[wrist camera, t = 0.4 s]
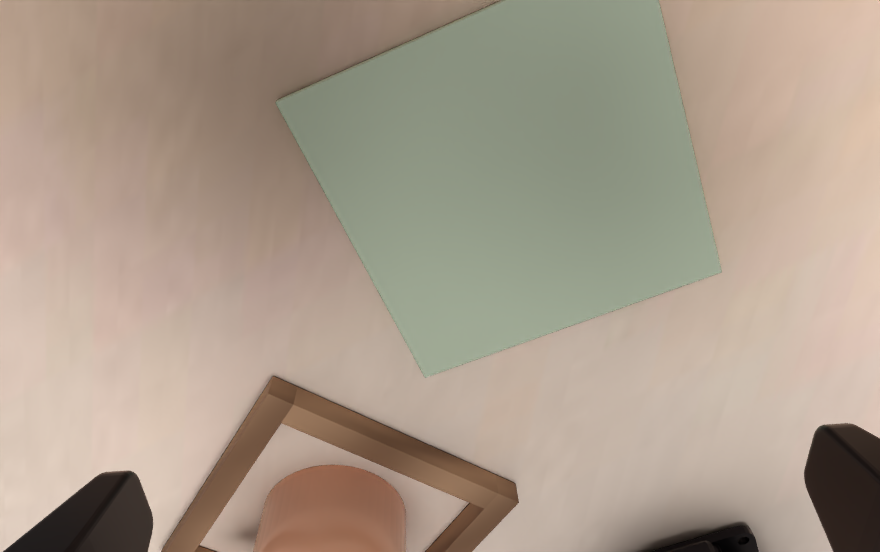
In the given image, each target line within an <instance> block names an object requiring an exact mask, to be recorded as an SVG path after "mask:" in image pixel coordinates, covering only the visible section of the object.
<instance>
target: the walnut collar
mask: <svg viewBox="0 0 880 552" xmlns="http://www.w3.org/2000/svg"><path fill="white" fill-rule="evenodd" d="M281 423H282V424H285V425H287V426H290V427H292V428H294V429H297V430H299V431H301V432H304V433H306V434H308V435H311V436H313V437H316V438H318V439H320V440H323V441H325V442H327V443H330V444H332V445H335V446H337V447H339V448H342V449H344V450H346V451H349V452H351V453H353V454H356V455H358V456H361V457H363V458H365V459H368V460H370V461H372V462H375V463H377V464H379V465H382V466H384V467H387V468H389V469H391V470H394V471H396V472H398V473H401V474H403V475H405V476H408V477H410V478H413V479H415V480H417V481H420V482H422V483H424V484H427V485H429V486H431V487H434V488H436V489H439V490H441V491H443V492H446V493H448V494H450V495H453V496H455V497H457V498H460V499H462V500H465V501H467V502H469V503H470V504H469V505H468V506H467V507H466V508H465V509H464V510H463V511H462V512H461V513H460V515H459V516H458V517H457V518H456V519H455V520H454V521H453V522H452V523H451V524H450V526H449V527H448V528H447V529H446V530H445V531H444V532H443V533H442V534H441V535H440V537H439V538H438V539H437V540H436V541H435V542H434V543H433V544H432V545H431V546H430V548H429V549H428V550H427V551H426V552H472V551H473V550H474V549H475V548H476V547H477V546H478V545H479V544H480V542H481V541H482V540H483V539H484V538H485V537H486V536H487V535H488V534H489V533H490V532H491V531H492V530H493V529H494V528H495V527H496V526H497V525H498V524H499V523H500V522H501V521H502V520H503V518H504V517H505V516H506V515H507V514H508V513H509V512H510V511H511V510H512V509H513V508H514V507H515V506H516V505H517V504H518V503H519V501H518V495H517V490H516V484H515V483H513V482H511V481H509V480H506V479H504V478H502V477H500V476H497V475H495V474H493V473H491V472H488V471H486V470H484V469H481V468H479V467H477V466H475V465H472V464H470V463H468V462H466V461H463V460H461V459H459V458H457V457H454V456H452V455H450V454H448V453H445V452H443V451H441V450H439V449H436V448H434V447H432V446H430V445H427V444H425V443H423V442H421V441H418V440H416V439H414V438H412V437H409V436H407V435H405V434H403V433H400V432H398V431H396V430H394V429H391V428H389V427H387V426H385V425H382V424H380V423H378V422H376V421H373V420H371V419H369V418H367V417H364V416H362V415H360V414H358V413H355V412H353V411H351V410H348V409H346V408H344V407H342V406H339V405H337V404H335V403H333V402H330V401H328V400H326V399H324V398H321V397H319V396H317V395H315V394H312V393H310V392H308V391H306V390H303V389H301V388H299V387H297V386H294V385H292V384H290V383H288V382H285V381H283V380H281V379H279V378H276V377H274V376H273V377H272V378H271V380H270V381H269V383H268V384H267V386H266V388H265V389H264V391H263V392H262V394H261V395H260V397H259V399H258V400H257V402H256V403H255V405H254V406H253V408H252V410H251V411H250V413H249V414H248V416H247V417H246V419H245V420H244V422H243V424H242V425H241V427H240V428H239V430H238V431H237V433H236V435H235V436H234V438H233V439H232V441H231V442H230V444H229V446H228V447H227V449H226V450H225V452H224V453H223V455H222V457H221V458H220V460H219V461H218V463H217V464H216V466H215V468H214V469H213V471H212V472H211V474H210V475H209V477H208V478H207V480H206V482H205V483H204V485H203V486H202V488H201V489H200V491H199V493H198V494H197V496H196V497H195V499H194V500H193V502H192V504H191V505H190V507H189V508H188V510H187V511H186V513H185V515H184V516H183V518H182V519H181V521H180V522H179V524H178V526H177V527H176V529H175V530H174V532H173V533H172V535H171V536H170V538H169V540H168V541H167V543H166V544H165V546H164V547H163V549H162V551H161V552H214V551H212V550H209V549H206V548H203V547H200V546H199V544H200V543H201V541H202V540H203V538H204V537H205V535H206V534H207V532H208V531H209V529H210V528H211V527H212V525H213V524H214V522H215V521H216V519H217V518H218V516H219V515H220V513H221V512H222V510H223V509H224V507H225V506H226V504H227V503H228V501H229V500H230V498H231V497H232V495H233V494H234V492H235V491H236V489H237V488H238V486H239V485H240V483H241V482H242V480H243V479H244V477H245V476H246V474H247V473H248V472H249V470H250V469H251V467H252V466H253V464H254V463H255V461H256V460H257V458H258V457H259V455H260V454H261V452H262V451H263V449H264V448H265V446H266V445H267V443H268V442H269V440H270V439H271V437H272V436H273V434H274V433H275V431H276V430H277V428H278V427H279V425H280V424H281Z"/></svg>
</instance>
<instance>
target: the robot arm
mask: <svg viewBox="0 0 880 552" xmlns="http://www.w3.org/2000/svg"><path fill="white" fill-rule="evenodd" d="M804 479H805V485H806V488H807V491H808V493H809V496H810V498H811V500H812V503H813V505H814V507H815V510H816V512H817V514H818V517H819V519H820V521H821V524H822V526H823V528H824V531H825V533H826V535H827V538H828V540H829V543H830V545H831V547H832V550H833V552H880V438H878V437H876V436H874V435H873V434H871V433H869V432H867V431H865V430H864V429H862V428H860V427H858V426H856V425H854V424H848V423H844V424H828V425H822V426H820V427H818V428H817V430H816V431H815V433H814V437H813V440H812V444H811V448H810V451H809V455H808V459H807V462H806V466H805V471H804ZM152 530H153V517H152V512H151V509H150V507H149V504H148V501H147V499H146V496H145V493H144V491H143V488H142V486H141V483H140V480H139V478H138V476H137V475H136V474H135V473H134V472H132V471H115V472H105V473H101V474H99V475H98V476H96V477H95V478H94V479H92V480H91V481H90V482H89V483H87V484H86V485H85V486H84V487H83V488H81V489H80V490H79V491H78V492H76V493H75V494H74V495H73V496H71V497H70V498H69V499H68V500H66V501H65V502H64V503H63V504H61V505H60V506H59V507H58V508H57V509H55V510H54V511H53V512H52V513H50V514H49V515H48V516H47V517H45V518H44V519H43V520H42V521H40V522H39V523H38V524H37V525H35V526H34V527H33V528H32V529H30V530H29V531H28V532H27V533H26V534H24V535H23V536H22V537H21V538H19V539H18V540H17V541H16V542H14V543H13V544H12V545H11V546H9V547H8V548H7V549H6V550H4V551H3V552H148V548H149V543H150V539H151V535H152ZM651 552H759V551H758V547H757V543H756V540H755V537H754V535H753V533H752V531H751V529H750V528H749V527H747V526H743V525H742V526H737V527H733V528H730V529H726V530H723V531H720V532H716V533H713V534H709V535H706V536H703V537H699V538H696V539H692V540H689V541H685V542H682V543H679V544H675V545H672V546H668V547H665V548H662V549H658V550H655V551H651Z"/></svg>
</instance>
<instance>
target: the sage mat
mask: <svg viewBox="0 0 880 552" xmlns="http://www.w3.org/2000/svg"><path fill="white" fill-rule="evenodd" d="M276 105H277V107H278V108H279V110H280V112H281V114H282V116H283V118H284V119H285V121H286V123H287V125H288V127H289V129H290V130H291V132H292V134H293V136H294V138H295V140H296V142H297V143H298V145H299V147H300V149H301V151H302V153H303V154H304V156H305V158H306V160H307V162H308V164H309V165H310V167H311V169H312V171H313V173H314V175H315V176H316V178H317V180H318V182H319V184H320V186H321V187H322V189H323V191H324V193H325V195H326V197H327V199H328V200H329V202H330V204H331V206H332V208H333V210H334V211H335V213H336V215H337V217H338V219H339V221H340V222H341V224H342V226H343V228H344V230H345V232H346V233H347V235H348V237H349V239H350V241H351V243H352V244H353V246H354V248H355V250H356V252H357V254H358V256H359V257H360V259H361V261H362V263H363V265H364V267H365V268H366V270H367V272H368V274H369V276H370V278H371V279H372V281H373V283H374V285H375V287H376V289H377V290H378V292H379V294H380V296H381V298H382V300H383V302H384V303H385V305H386V307H387V309H388V311H389V313H390V314H391V316H392V318H393V320H394V322H395V324H396V325H397V327H398V329H399V331H400V333H401V335H402V336H403V338H404V340H405V342H406V344H407V346H408V347H409V349H410V351H411V353H412V355H413V357H414V359H415V360H416V362H417V364H418V366H419V368H420V370H421V371H422V373H423V375H424V377H425V378H426V377H429V376H432V375H434V374H437V373H440V372H443V371H446V370H448V369H451V368H454V367H457V366H460V365H463V364H465V363H468V362H471V361H474V360H477V359H479V358H482V357H485V356H488V355H491V354H493V353H496V352H499V351H502V350H505V349H508V348H510V347H513V346H516V345H519V344H522V343H524V342H527V341H530V340H533V339H536V338H538V337H541V336H544V335H547V334H550V333H553V332H555V331H558V330H561V329H564V328H567V327H569V326H572V325H575V324H578V323H581V322H583V321H586V320H589V319H592V318H595V317H598V316H600V315H603V314H606V313H609V312H612V311H614V310H617V309H620V308H623V307H626V306H628V305H631V304H634V303H637V302H640V301H643V300H645V299H648V298H651V297H654V296H657V295H659V294H662V293H665V292H668V291H671V290H673V289H676V288H679V287H682V286H685V285H688V284H690V283H693V282H696V281H699V280H702V279H704V278H707V277H710V276H713V275H716V274H718V273H721V272H722V270H721V266H720V262H719V257H718V253H717V249H716V244H715V240H714V236H713V232H712V227H711V223H710V219H709V214H708V210H707V206H706V201H705V197H704V193H703V189H702V184H701V180H700V176H699V171H698V167H697V163H696V158H695V154H694V150H693V146H692V141H691V137H690V133H689V128H688V124H687V120H686V116H685V111H684V107H683V103H682V98H681V94H680V90H679V85H678V81H677V77H676V73H675V68H674V64H673V60H672V55H671V51H670V47H669V42H668V38H667V34H666V30H665V25H664V21H663V17H662V12H661V8H660V4H659V0H501V1H499V2H497V3H494V4H492V5H490V6H488V7H485V8H483V9H481V10H479V11H476V12H474V13H472V14H470V15H467V16H465V17H463V18H461V19H458V20H456V21H454V22H452V23H449V24H447V25H445V26H443V27H440V28H438V29H436V30H434V31H431V32H429V33H427V34H425V35H422V36H420V37H418V38H416V39H413V40H411V41H409V42H407V43H404V44H402V45H400V46H397V47H395V48H393V49H391V50H388V51H386V52H384V53H382V54H379V55H377V56H375V57H373V58H370V59H368V60H366V61H364V62H361V63H359V64H357V65H355V66H352V67H350V68H348V69H346V70H343V71H341V72H339V73H337V74H334V75H332V76H330V77H328V78H325V79H323V80H321V81H319V82H316V83H314V84H312V85H310V86H307V87H305V88H303V89H301V90H298V91H296V92H294V93H292V94H289V95H287V96H285V97H283V98H280V99H278V100H277V101H276Z"/></svg>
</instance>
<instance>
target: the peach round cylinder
mask: <svg viewBox="0 0 880 552" xmlns="http://www.w3.org/2000/svg"><path fill="white" fill-rule="evenodd" d="M253 552H406V511H405V506H404V503H403V501H402V499H401V497H400V495H399V494H398V492H397V491H396V490H395V489H394V488H393V487H392V486H391V485H390V484H389V483H388V482H387V481H385V480H384V479H382V478H381V477H379V476H377V475H375V474H373V473H371V472H368V471H366V470H363V469H359V468H355V467H351V466H344V465H321V466H314V467H310V468H306V469H303V470H300V471H297V472H295V473H293V474H291V475H289V476H287V477H285V478H284V479H282V480H281V481H280V482H279V483H278V484H276V485H275V486H274V488H273V489H272V490H271V491H270V493H269V495H268V496H267V498H266V501H265V504H264V508H263V512H262V517H261V521H260V525H259V529H258V533H257V537H256V542H255V546H254V550H253Z"/></svg>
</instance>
